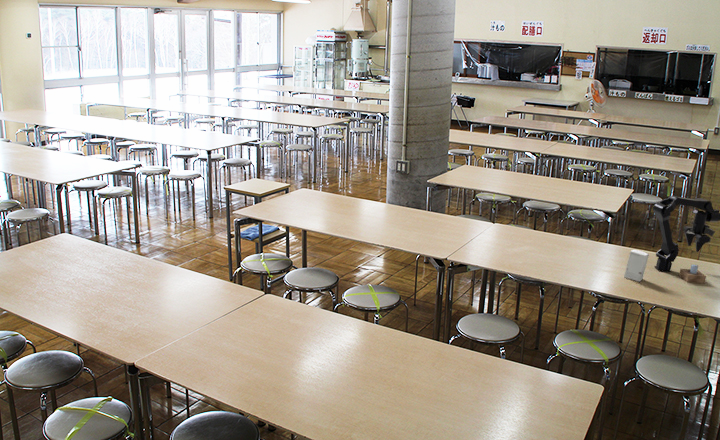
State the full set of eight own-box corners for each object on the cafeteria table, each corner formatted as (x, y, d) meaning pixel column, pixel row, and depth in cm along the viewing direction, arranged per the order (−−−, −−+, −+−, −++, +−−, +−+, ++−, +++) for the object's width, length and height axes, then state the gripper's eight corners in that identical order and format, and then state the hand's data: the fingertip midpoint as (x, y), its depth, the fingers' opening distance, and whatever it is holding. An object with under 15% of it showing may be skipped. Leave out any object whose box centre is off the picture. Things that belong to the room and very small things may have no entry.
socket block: (687, 282, 309) (688, 275, 308) (678, 275, 318) (680, 268, 317) (704, 283, 309) (706, 276, 308) (695, 276, 318) (697, 269, 316)
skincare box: (623, 277, 311) (629, 251, 306) (627, 274, 315) (632, 248, 311) (640, 282, 306) (646, 255, 301) (643, 279, 310) (649, 252, 306)
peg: (689, 280, 312) (693, 266, 310) (686, 278, 315) (690, 264, 313) (696, 280, 312) (699, 266, 310) (693, 278, 315) (696, 264, 313)
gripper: (723, 228, 311) (717, 255, 316) (705, 217, 329) (699, 244, 333) (702, 226, 311) (695, 254, 316) (685, 216, 329) (679, 242, 334)
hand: (693, 248), depth 325 cm, fingers open, 9 cm apart
